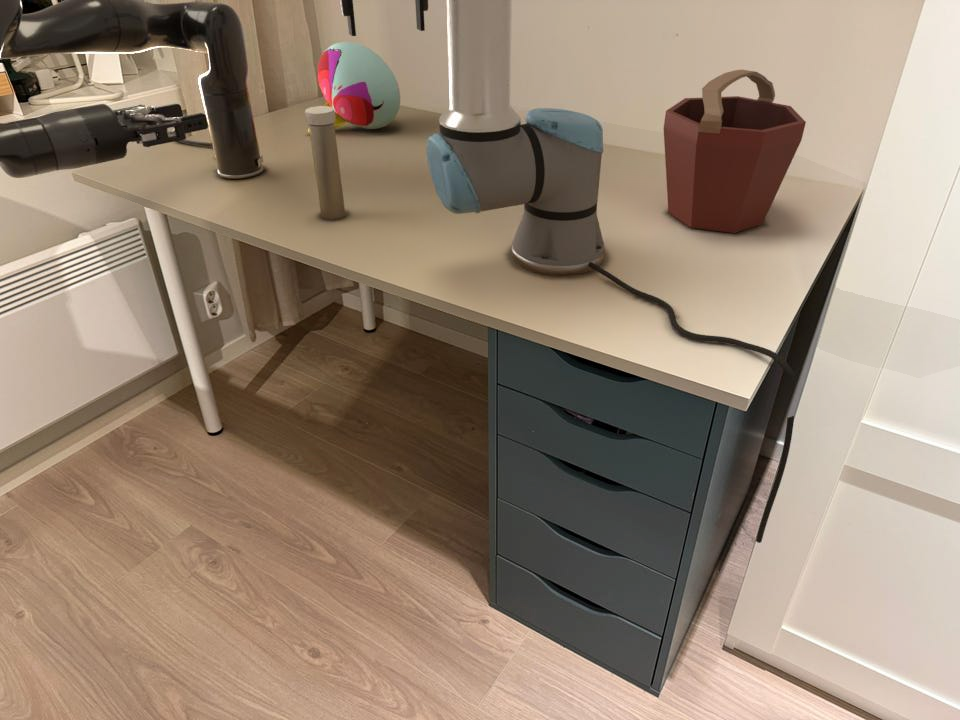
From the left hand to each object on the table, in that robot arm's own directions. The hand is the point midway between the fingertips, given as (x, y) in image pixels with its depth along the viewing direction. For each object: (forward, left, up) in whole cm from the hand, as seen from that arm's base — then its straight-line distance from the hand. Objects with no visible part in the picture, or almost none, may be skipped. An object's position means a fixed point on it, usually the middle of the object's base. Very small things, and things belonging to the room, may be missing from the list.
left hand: (193, 115), depth 106 cm
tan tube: (-1, +23, -23) cm, 32 cm away
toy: (-44, +60, -23) cm, 78 cm away
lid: (-1, +23, -4) cm, 23 cm away
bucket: (+50, +72, -23) cm, 91 cm away
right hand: (-10, +46, +5) cm, 47 cm away
